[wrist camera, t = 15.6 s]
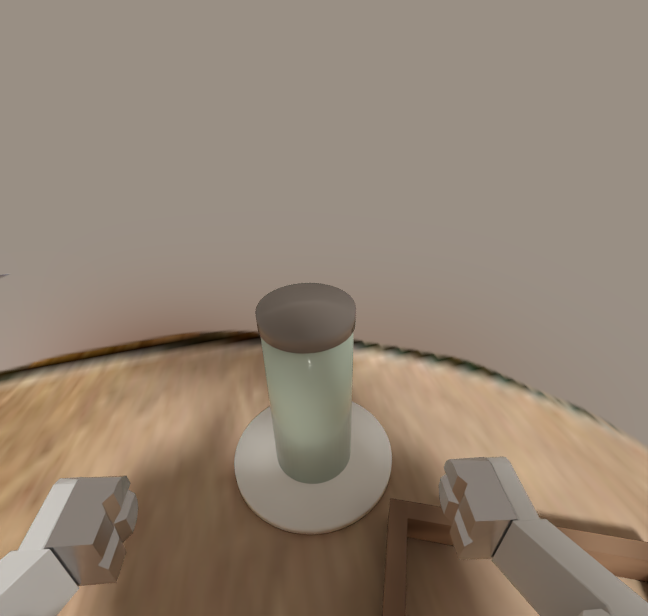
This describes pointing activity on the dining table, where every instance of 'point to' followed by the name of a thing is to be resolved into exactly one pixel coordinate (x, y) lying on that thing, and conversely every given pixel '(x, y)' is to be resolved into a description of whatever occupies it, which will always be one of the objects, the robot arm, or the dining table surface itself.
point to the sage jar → (309, 377)
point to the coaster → (313, 499)
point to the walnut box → (434, 526)
